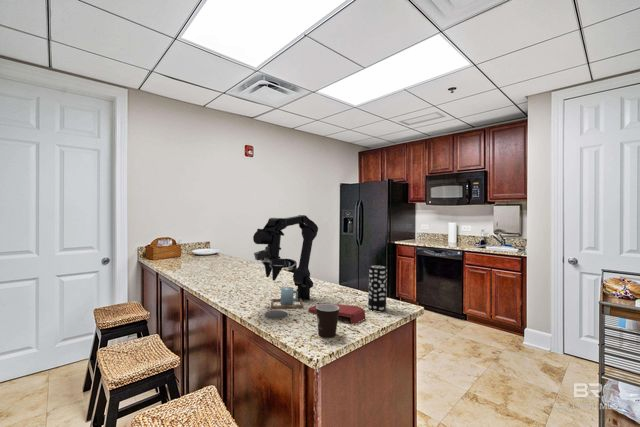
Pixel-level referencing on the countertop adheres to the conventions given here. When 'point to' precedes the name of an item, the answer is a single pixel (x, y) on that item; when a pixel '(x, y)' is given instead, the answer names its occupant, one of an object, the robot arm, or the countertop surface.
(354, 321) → the carton
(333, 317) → the coffee mug
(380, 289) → the spotted tube
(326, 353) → the countertop surface
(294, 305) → the brown wooden frame
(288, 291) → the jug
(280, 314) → the coaster
